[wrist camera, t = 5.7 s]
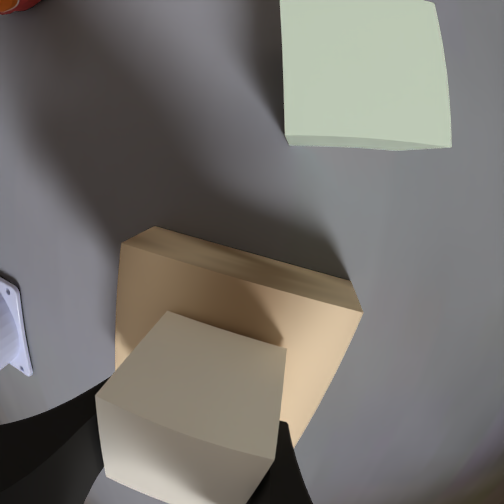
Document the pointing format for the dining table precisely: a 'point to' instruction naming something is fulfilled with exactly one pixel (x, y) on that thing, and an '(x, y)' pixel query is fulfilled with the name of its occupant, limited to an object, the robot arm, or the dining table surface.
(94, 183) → the dining table surface
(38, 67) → the dining table surface
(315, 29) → the sage block
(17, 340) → the robot arm
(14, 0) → the smoothie
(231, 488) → the cream block
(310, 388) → the oak base
